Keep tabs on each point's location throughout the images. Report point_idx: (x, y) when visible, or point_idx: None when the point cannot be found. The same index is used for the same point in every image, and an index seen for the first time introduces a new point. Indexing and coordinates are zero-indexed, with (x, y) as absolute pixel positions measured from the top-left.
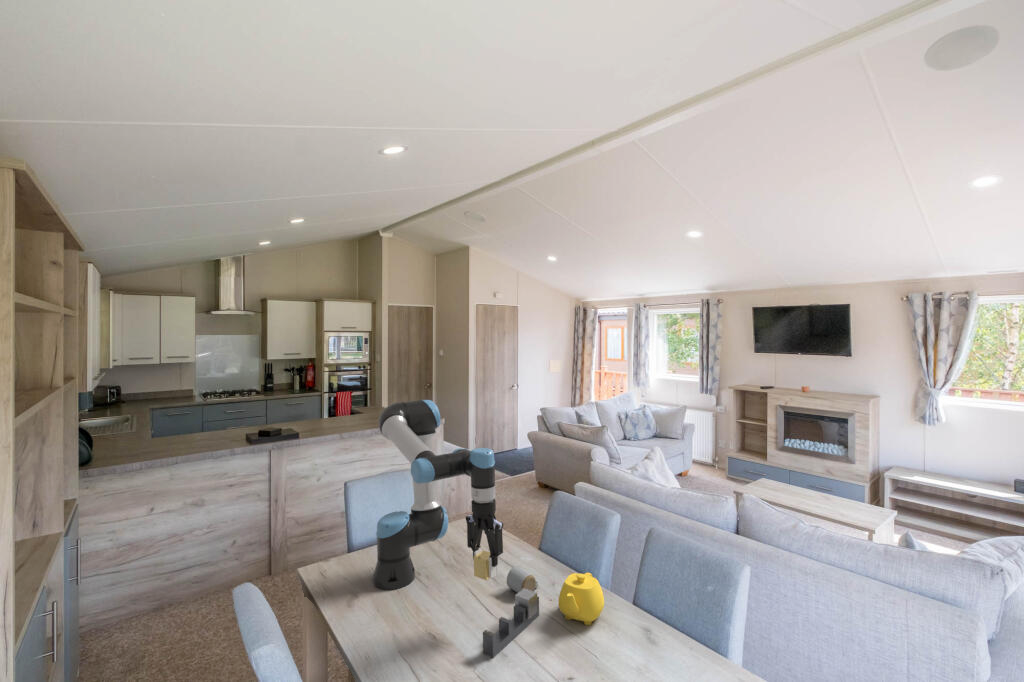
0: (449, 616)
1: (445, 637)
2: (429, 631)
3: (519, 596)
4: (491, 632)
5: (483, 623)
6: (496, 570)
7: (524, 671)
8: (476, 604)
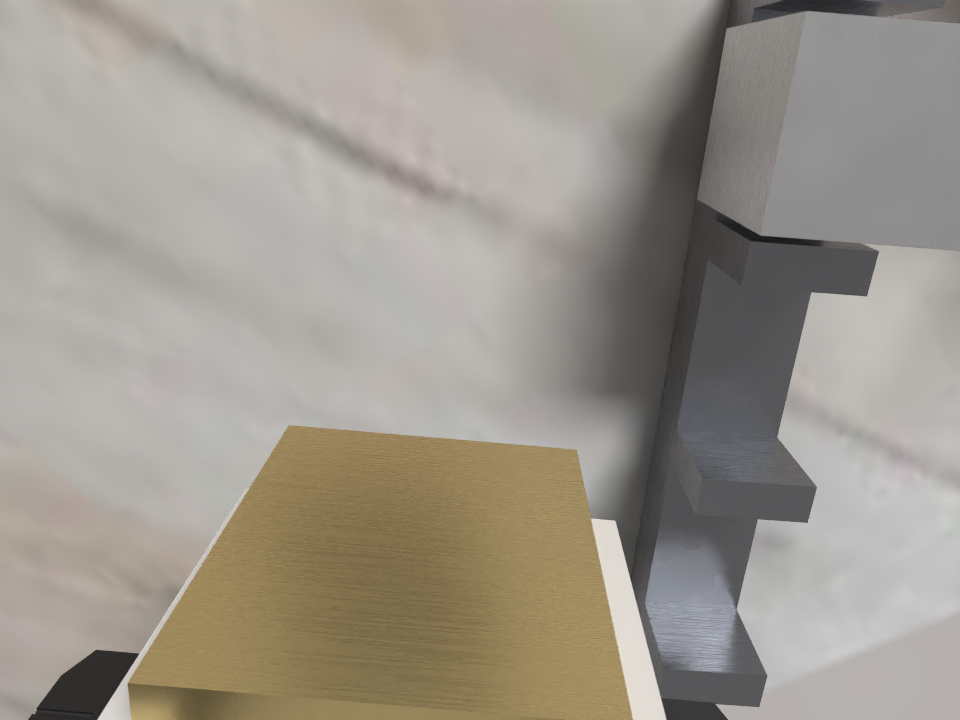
0: (144, 391)
1: None
2: (165, 585)
3: (824, 233)
4: (724, 675)
5: (441, 335)
6: (582, 482)
7: (947, 601)
8: (206, 130)
